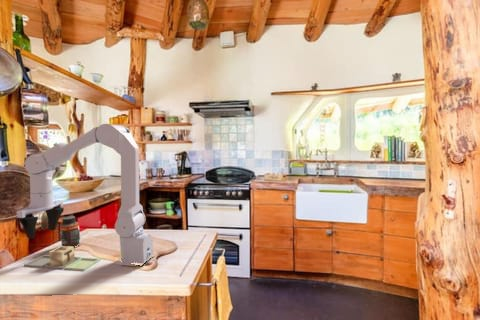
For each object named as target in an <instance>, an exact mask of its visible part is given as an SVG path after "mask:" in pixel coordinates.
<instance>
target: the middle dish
mask: <svg viewBox="0 0 480 320" xmlns="http://www.w3.org/2000/svg"><path fill="white" fill-rule="evenodd" d="M74 257H75V260H74V261H72V262H70V263H68V264H67V265H65V266H51V265H50V263H49V264H47V265H45V266H44V267H43V269H57V270H65V268H64V267H66V266H68V265H70V264H71V263H73V262H75V261H77V260H78V259H80V258H82V257H81V256H74Z"/></svg>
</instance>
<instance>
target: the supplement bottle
mask: <svg viewBox="0 0 480 320" xmlns="http://www.w3.org/2000/svg"><path fill="white" fill-rule="evenodd" d="M61 220H62V223H61V224H60V225H59V229H60V230H59V232H60V239H61V240H60V241H61V246H73V247H75V246H77V245H78V244H80V243H81V242H82V241H81V233H80V231H81V230H80V224H79V222H78V221H76V216H74V215H71V216H70V215H69V216H65V217H63V218H62V219H61Z"/></svg>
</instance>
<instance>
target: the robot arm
mask: <svg viewBox="0 0 480 320" xmlns="http://www.w3.org/2000/svg"><path fill="white" fill-rule="evenodd" d="M132 134H133V133H132V131H131V130H130V129H128V127H126V126H125V125H122V124H109V123H103V124H100V125H98V126H95V127H93V128H92V129H90V130H89V131H87V132H85V133H83V134H82V135H80V136H79V137H77V138H75V139H74V140H72V141H70V142H69V143H66V142H55V143H54V144H53V146H52V147H50V148H48V149H46V150H41V151H40V153H39V154H30V155H29V156H28V157H27V158H26V159H25V160H24V166H25V169H26V171H27V172H28V173H29V188H30V189H29V192H30V195H29V197H30V198H29V199H30V201H29V202H30V203H29V206H26V207H25V208H23V209H20V210H17V211H16V219H17V220H18V222H19V223H20V224H21V227H22V228H23V229H24V232H25V235H26V238H28V239H34V238H35V236H36V226H37V222H38V219H39V217H38V216H34V215H35V214H38V213H42V212H45V213H46V217H47V226H48V230H50V231H55V230H57V226H58V223H59V220H60V218H61V216H62V214H63V212H64V209H65V208H64V200H54V201H53V175H54V171H55V170H56V168H57V167H58V166H60V165H62V164H64V163H66V162H68V161H70V160H71V159H73V158H74V156H75V153H76V152H79V151H81V150H83V149H86V148H88V147H89V146H91V145H94V144H96V143H97V144H98V143H99V144H101V145H104V146H106V147H108V148H110V149H113V150H114V151H115V152H116V153H118V155H120V201H121V205H120V207H119V210H118V212H117V219H116V220H115V224H114V230H115V232H116V234H117V235H118V236H119V245H120V246H119V247H120V259H121V261H122V262H121V261H119V260H118V261H116V262H114V263H115V265H121V266H128V267H129V266H131V267H137V266H136V265H135V264H131V263H134V262H135V263H136V262H137V263H145V262H146V261H147V260H148V259H150V258H151V257H152V256H153V254H154V243H153V242H154V241H153V236H152V235H151V234H150V233H146V232H145V231H144V227H143V226H144V225H145V222H146V221H147V220H146V215H145V213H144V208H143V205H142V204H141V203H140V150H139V149H140V148H139V146H138V144H137V142H136V140H135V138H134V137H133V135H132ZM151 259H152V258H151ZM151 259H150V260H151Z"/></svg>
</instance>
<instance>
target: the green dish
mask: <svg viewBox="0 0 480 320" xmlns="http://www.w3.org/2000/svg"><path fill="white" fill-rule="evenodd" d="M100 261H102V259H101V258H97V257H81V258H80V259H78V260H77V261H75V262H73V263H71V264H70V265H68V266H66V267H64V270H69V271H71V270H72V271H84V272H85V271H86V270H88V269H89V268H91V267H93V266H94V265H95V264H97V263H99V262H100Z"/></svg>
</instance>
